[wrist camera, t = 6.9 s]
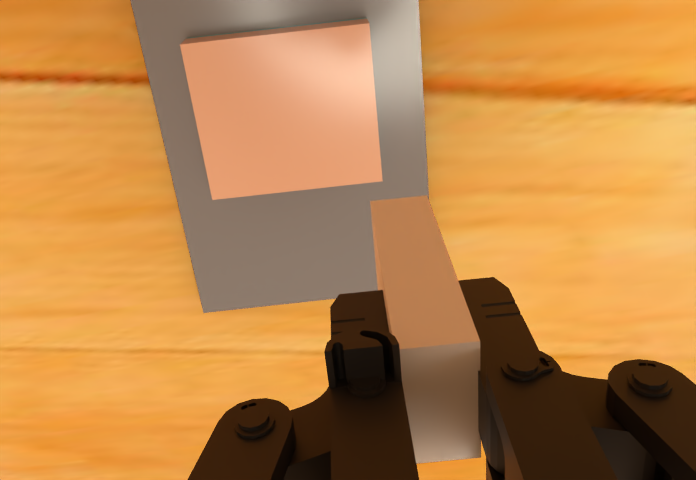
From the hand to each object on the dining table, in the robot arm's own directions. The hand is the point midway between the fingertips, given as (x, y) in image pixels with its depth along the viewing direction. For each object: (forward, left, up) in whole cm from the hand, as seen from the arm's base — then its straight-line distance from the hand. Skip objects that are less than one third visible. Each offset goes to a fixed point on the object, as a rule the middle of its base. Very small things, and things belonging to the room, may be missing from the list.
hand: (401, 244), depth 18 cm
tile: (+1, +1, -18) cm, 18 cm away
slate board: (+1, -4, -20) cm, 20 cm away
